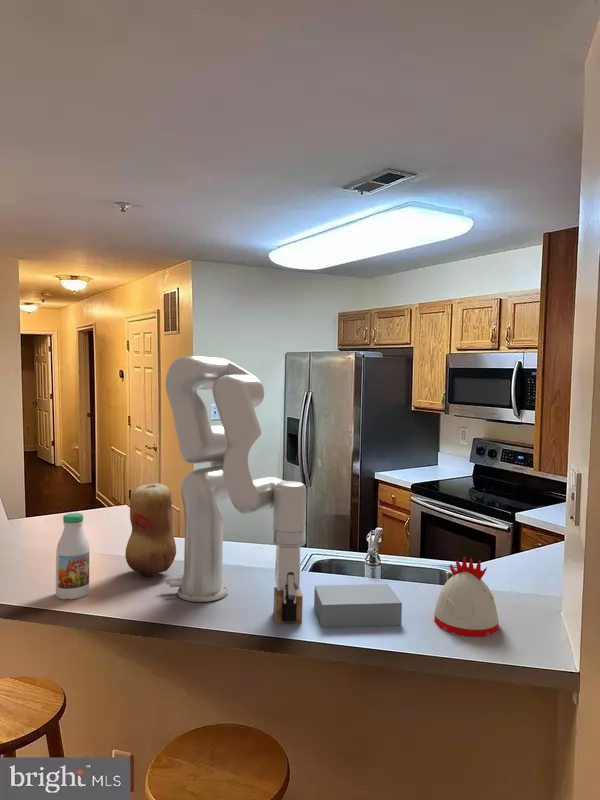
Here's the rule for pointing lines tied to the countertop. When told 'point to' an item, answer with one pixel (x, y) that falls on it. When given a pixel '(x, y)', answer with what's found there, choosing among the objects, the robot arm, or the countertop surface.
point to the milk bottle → (72, 559)
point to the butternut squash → (151, 530)
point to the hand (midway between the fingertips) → (287, 613)
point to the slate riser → (357, 605)
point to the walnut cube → (278, 606)
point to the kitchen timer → (466, 603)
